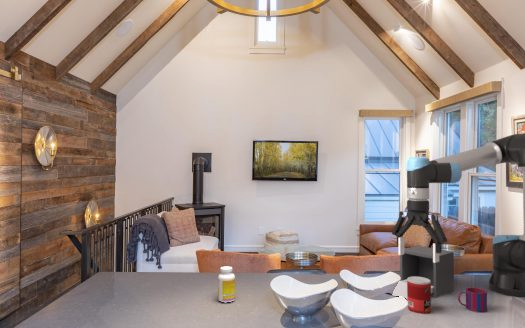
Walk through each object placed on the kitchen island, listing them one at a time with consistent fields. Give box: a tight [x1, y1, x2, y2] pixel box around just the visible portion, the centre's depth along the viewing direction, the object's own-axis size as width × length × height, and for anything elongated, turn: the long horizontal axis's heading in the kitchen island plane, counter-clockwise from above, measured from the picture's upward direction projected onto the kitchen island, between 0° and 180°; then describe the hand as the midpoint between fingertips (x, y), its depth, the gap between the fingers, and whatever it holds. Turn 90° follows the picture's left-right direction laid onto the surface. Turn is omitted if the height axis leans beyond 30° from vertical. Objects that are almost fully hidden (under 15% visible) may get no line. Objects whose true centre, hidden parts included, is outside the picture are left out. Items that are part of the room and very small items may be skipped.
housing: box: [399, 245, 455, 298], centre depth 159 cm, size 16×14×16 cm
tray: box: [391, 279, 434, 300], centre depth 152 cm, size 15×15×6 cm
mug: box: [457, 286, 488, 313], centre depth 137 cm, size 7×10×7 cm
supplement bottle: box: [217, 265, 236, 303], centre depth 146 cm, size 7×7×13 cm
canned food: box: [406, 276, 432, 315], centre depth 136 cm, size 8×8×11 cm
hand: (418, 258), depth 136 cm, fingers open, 13 cm apart
